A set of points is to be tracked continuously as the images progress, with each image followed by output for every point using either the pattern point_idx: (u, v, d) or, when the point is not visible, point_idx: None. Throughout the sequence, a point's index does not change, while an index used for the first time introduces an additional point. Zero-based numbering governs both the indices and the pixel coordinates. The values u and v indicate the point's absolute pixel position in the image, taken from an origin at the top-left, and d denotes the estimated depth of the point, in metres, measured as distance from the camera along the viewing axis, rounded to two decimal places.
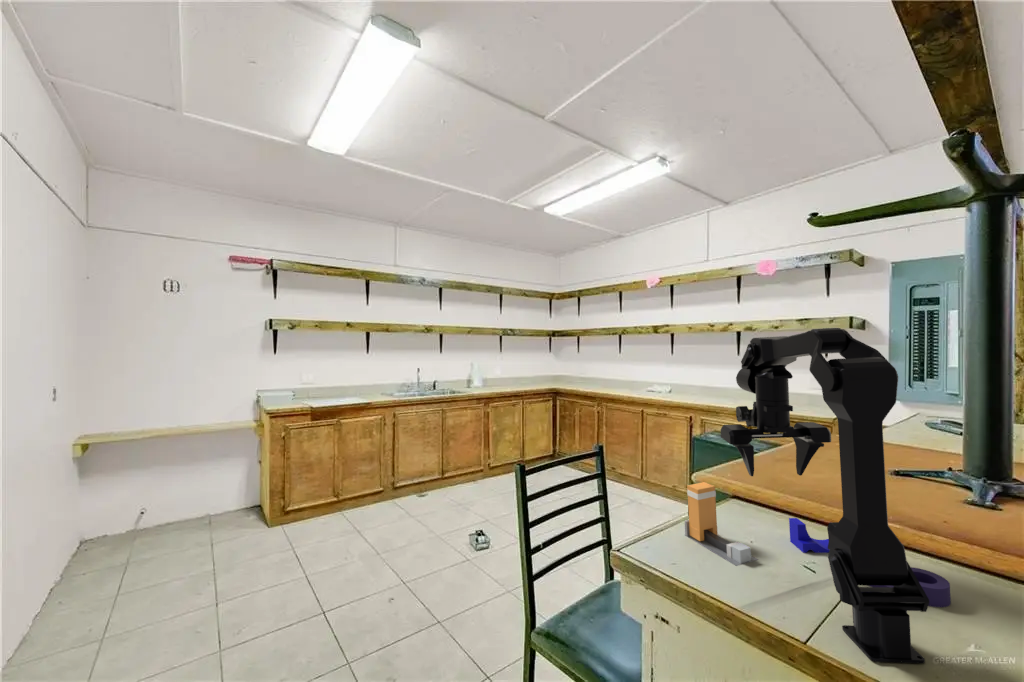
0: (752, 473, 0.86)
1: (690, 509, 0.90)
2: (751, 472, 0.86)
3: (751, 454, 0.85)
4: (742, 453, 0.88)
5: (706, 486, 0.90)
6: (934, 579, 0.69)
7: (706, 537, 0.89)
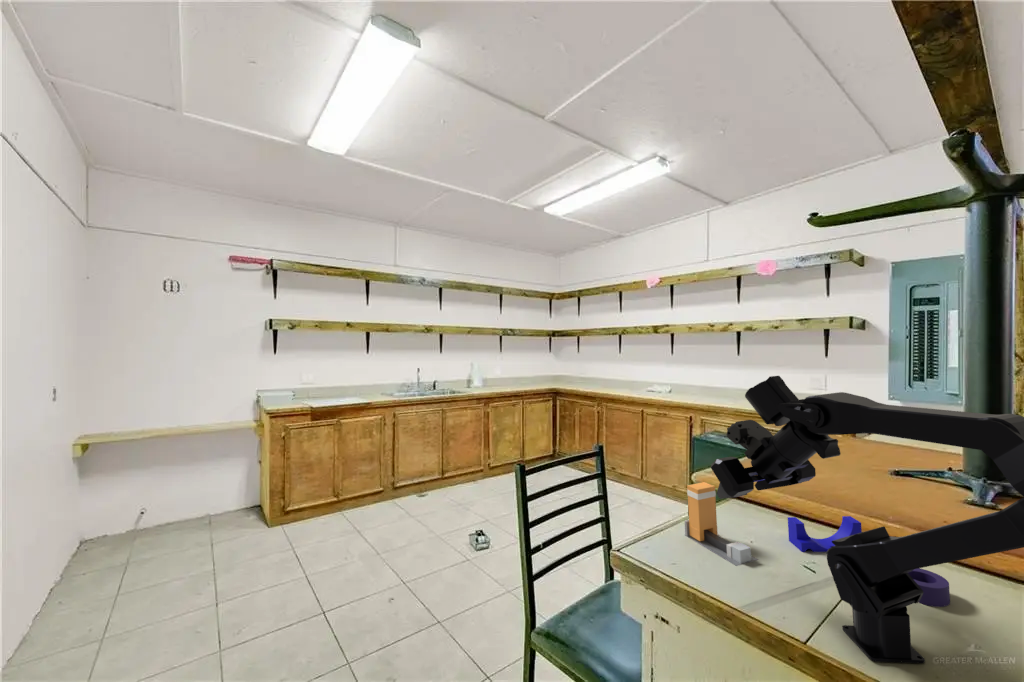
0: None
1: (690, 509, 0.90)
2: None
3: None
4: None
5: (706, 486, 0.90)
6: (933, 578, 0.69)
7: (706, 537, 0.89)
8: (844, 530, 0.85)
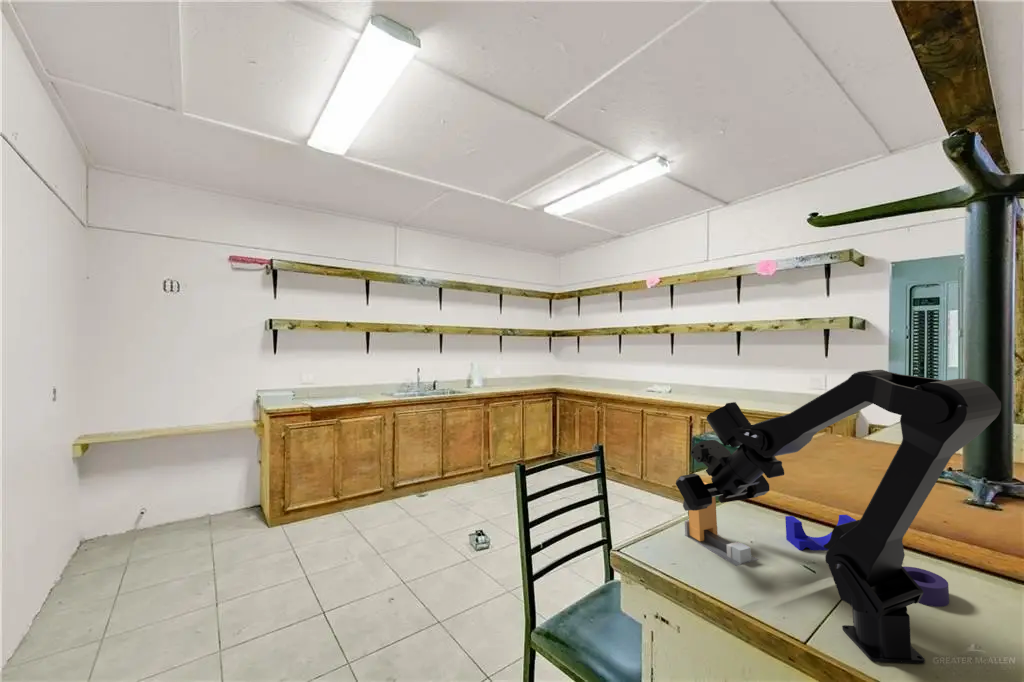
0: None
1: None
2: (687, 510, 0.87)
3: None
4: None
5: None
6: (932, 578, 0.69)
7: (706, 537, 0.89)
8: None
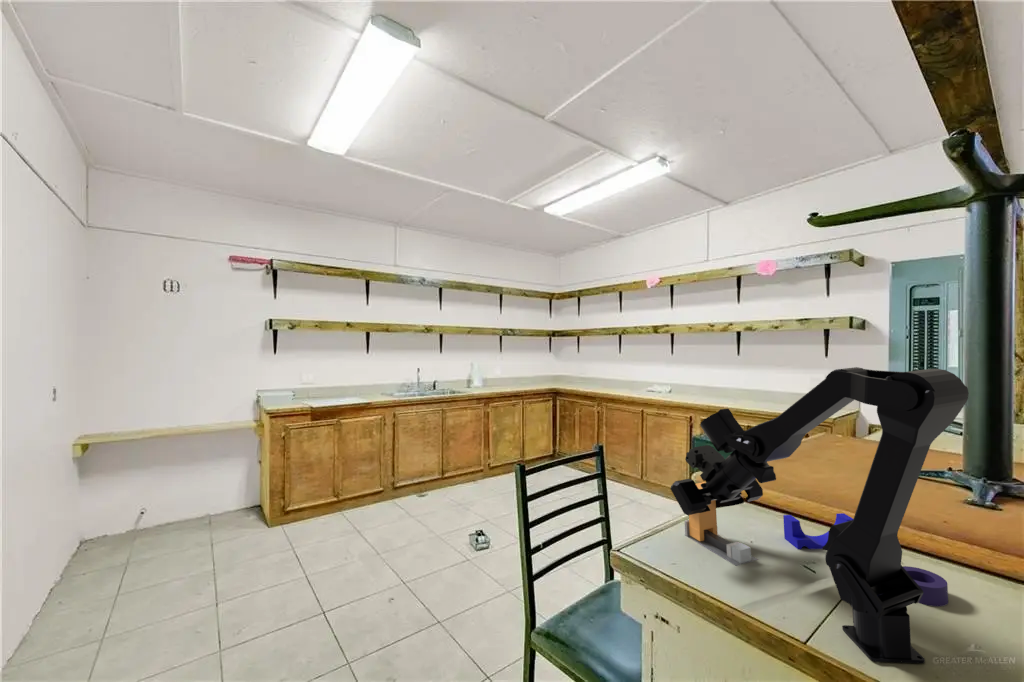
0: None
1: None
2: None
3: None
4: None
5: None
6: (932, 578, 0.69)
7: (706, 537, 0.89)
8: None
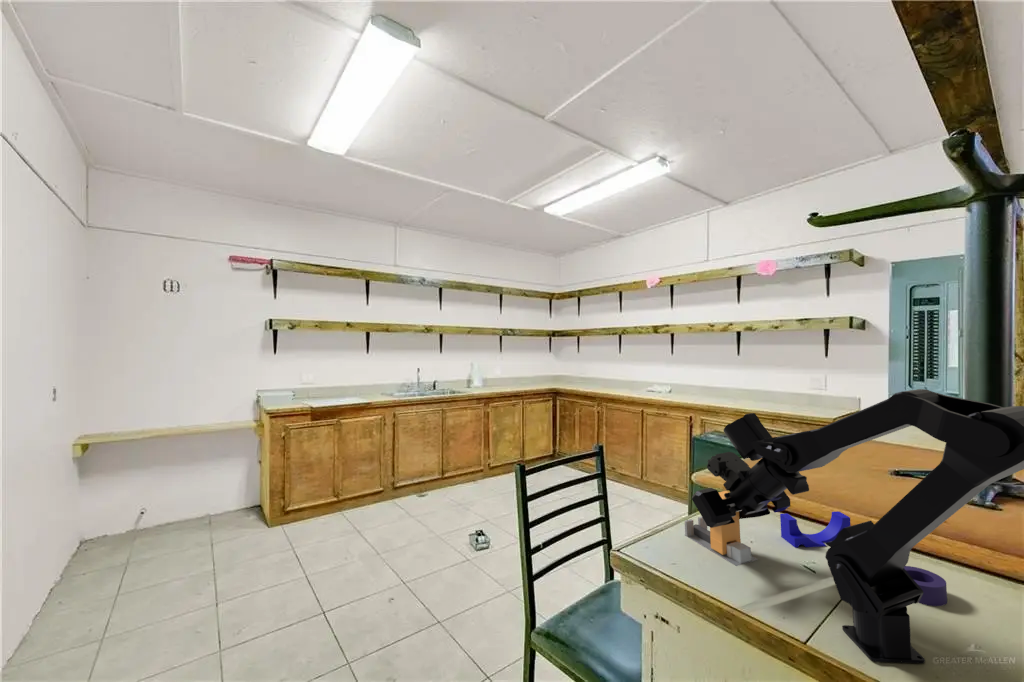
0: None
1: None
2: None
3: None
4: None
5: None
6: (931, 578, 0.70)
7: (706, 537, 0.89)
8: (834, 525, 0.87)
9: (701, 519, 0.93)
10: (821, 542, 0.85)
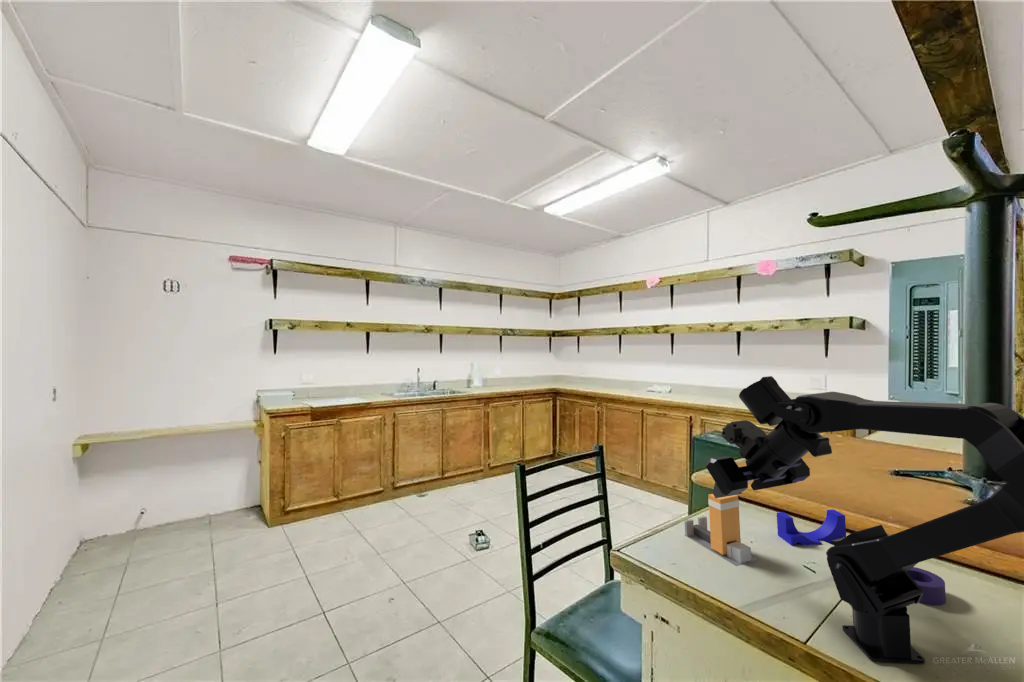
0: (718, 497, 0.80)
1: (712, 519, 0.85)
2: (718, 497, 0.80)
3: None
4: None
5: None
6: (929, 578, 0.70)
7: (706, 537, 0.89)
8: (829, 523, 0.88)
9: (701, 519, 0.93)
10: (817, 540, 0.86)
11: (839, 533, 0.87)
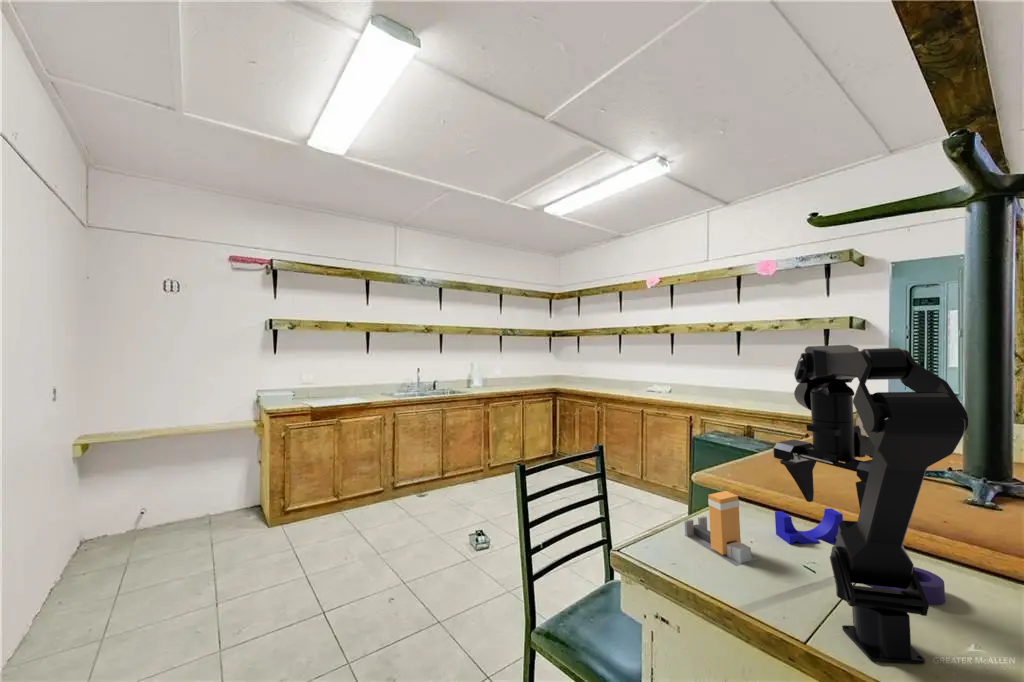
0: (806, 498, 0.77)
1: (712, 519, 0.85)
2: (804, 496, 0.77)
3: (794, 474, 0.77)
4: None
5: (729, 495, 0.84)
6: (929, 577, 0.70)
7: (706, 537, 0.89)
8: (826, 522, 0.89)
9: (701, 519, 0.93)
10: (815, 539, 0.87)
11: (837, 532, 0.87)
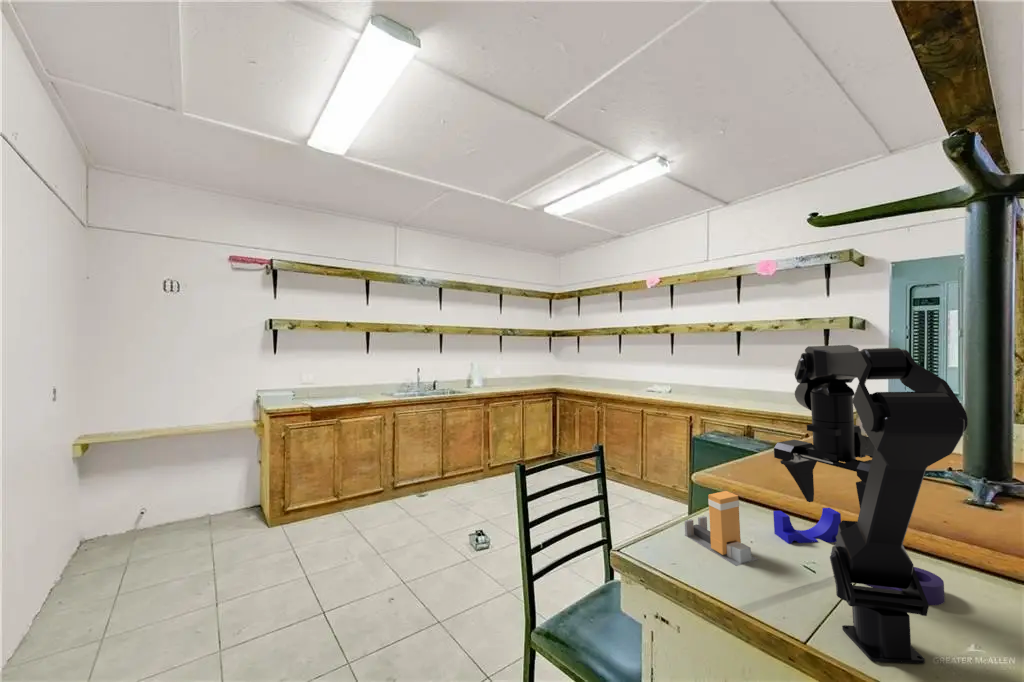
0: (806, 498, 0.77)
1: (712, 519, 0.85)
2: (805, 496, 0.77)
3: (795, 474, 0.77)
4: None
5: (729, 495, 0.84)
6: (928, 577, 0.70)
7: (706, 537, 0.89)
8: (825, 521, 0.89)
9: (701, 519, 0.93)
10: (813, 538, 0.87)
11: (835, 531, 0.88)
